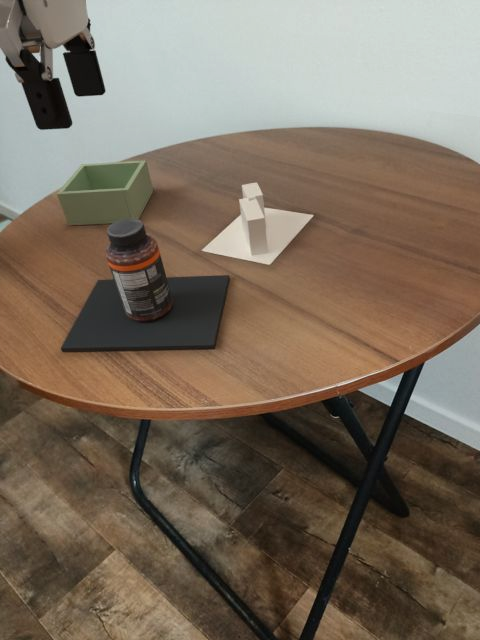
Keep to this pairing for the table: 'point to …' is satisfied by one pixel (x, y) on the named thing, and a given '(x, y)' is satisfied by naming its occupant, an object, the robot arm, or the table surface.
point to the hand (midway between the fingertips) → (74, 110)
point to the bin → (106, 192)
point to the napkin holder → (257, 230)
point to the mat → (161, 334)
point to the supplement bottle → (138, 271)
